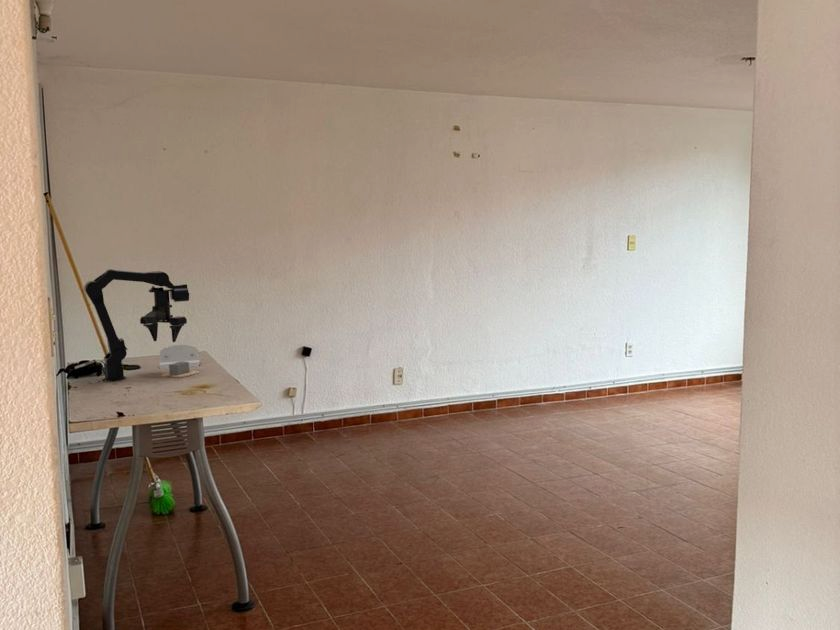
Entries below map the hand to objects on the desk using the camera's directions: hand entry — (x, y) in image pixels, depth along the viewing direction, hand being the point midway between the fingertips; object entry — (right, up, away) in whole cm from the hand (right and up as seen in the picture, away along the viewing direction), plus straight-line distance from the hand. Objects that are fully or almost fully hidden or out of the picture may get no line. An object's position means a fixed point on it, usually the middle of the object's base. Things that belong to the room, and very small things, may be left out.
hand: (164, 341), depth 319 cm
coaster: (+7, -13, -1) cm, 15 cm away
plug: (+9, -10, -1) cm, 14 cm away
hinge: (+1, -11, +17) cm, 21 cm away
